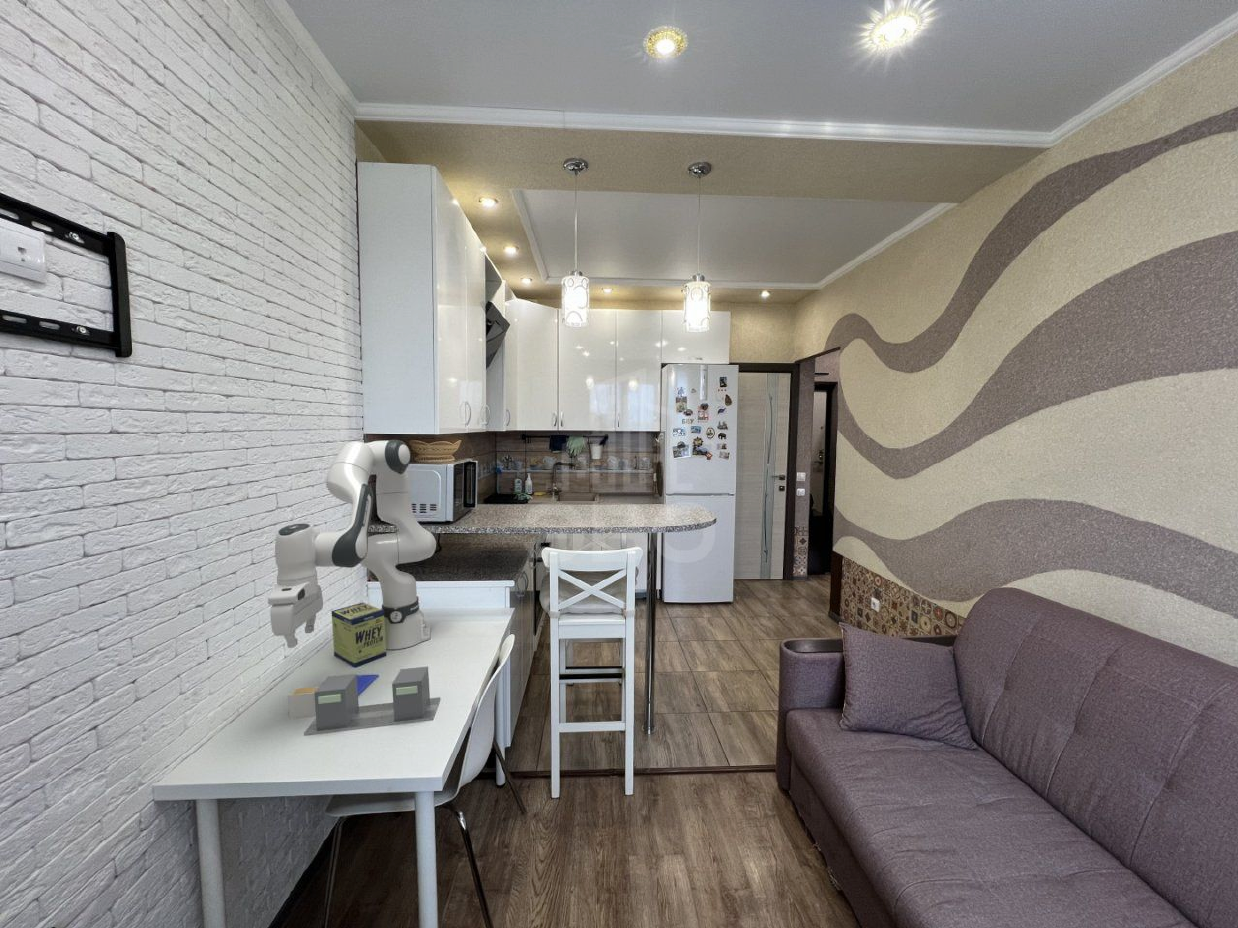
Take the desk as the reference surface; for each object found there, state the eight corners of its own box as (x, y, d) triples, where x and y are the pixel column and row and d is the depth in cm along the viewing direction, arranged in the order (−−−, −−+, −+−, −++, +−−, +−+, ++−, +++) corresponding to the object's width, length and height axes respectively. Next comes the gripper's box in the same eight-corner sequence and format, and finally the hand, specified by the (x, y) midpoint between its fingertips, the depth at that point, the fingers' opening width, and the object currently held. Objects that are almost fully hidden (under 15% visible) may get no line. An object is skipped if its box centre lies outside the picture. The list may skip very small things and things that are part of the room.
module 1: (330, 713, 129) (327, 676, 128) (358, 710, 130) (356, 673, 129) (316, 732, 120) (313, 693, 120) (346, 729, 122) (344, 689, 121)
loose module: (295, 710, 131) (293, 688, 130) (324, 707, 132) (322, 685, 132) (289, 718, 127) (287, 695, 127) (318, 714, 129) (316, 691, 128)
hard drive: (352, 674, 148) (327, 696, 136) (379, 674, 148) (356, 695, 136) (352, 679, 148) (327, 702, 136) (379, 679, 148) (356, 701, 136)
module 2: (402, 705, 132) (400, 669, 131) (430, 702, 133) (428, 666, 132) (393, 723, 123) (391, 684, 123) (422, 719, 125) (420, 681, 124)
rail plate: (321, 712, 129) (321, 710, 129) (440, 699, 134) (440, 697, 134) (303, 735, 120) (303, 732, 120) (432, 719, 124) (432, 717, 124)
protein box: (355, 668, 155) (352, 619, 154) (333, 656, 164) (330, 610, 163) (387, 655, 163) (384, 609, 162) (364, 644, 172) (362, 601, 172)
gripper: (303, 577, 138) (306, 625, 138) (263, 600, 117) (267, 656, 118) (327, 575, 139) (330, 623, 139) (292, 598, 118) (296, 654, 119)
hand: (301, 639), depth 128 cm, fingers open, 8 cm apart
